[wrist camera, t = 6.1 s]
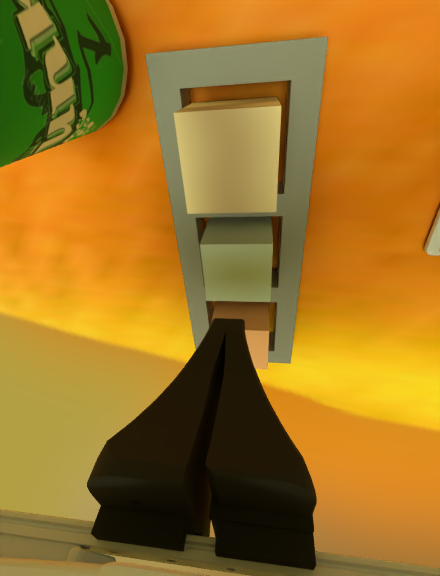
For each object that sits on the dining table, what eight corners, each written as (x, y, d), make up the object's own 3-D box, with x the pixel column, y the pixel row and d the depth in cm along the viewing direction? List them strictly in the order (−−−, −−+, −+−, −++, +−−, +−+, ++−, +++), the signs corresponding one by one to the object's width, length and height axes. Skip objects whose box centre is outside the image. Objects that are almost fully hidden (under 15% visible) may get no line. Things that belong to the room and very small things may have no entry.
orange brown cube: (268, 294, 23) (269, 331, 20) (266, 331, 25) (267, 369, 22) (217, 293, 23) (210, 329, 20) (220, 329, 26) (214, 366, 23)
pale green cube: (271, 214, 19) (272, 244, 16) (269, 267, 21) (270, 301, 18) (210, 215, 19) (199, 244, 16) (214, 266, 22) (206, 300, 19)
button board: (320, 40, 14) (328, 36, 12) (288, 343, 26) (290, 363, 25) (158, 55, 15) (144, 54, 13) (201, 340, 28) (197, 358, 26)
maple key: (277, 96, 14) (281, 105, 11) (273, 183, 16) (276, 212, 13) (193, 102, 14) (173, 112, 11) (201, 185, 17) (187, 213, 13)
